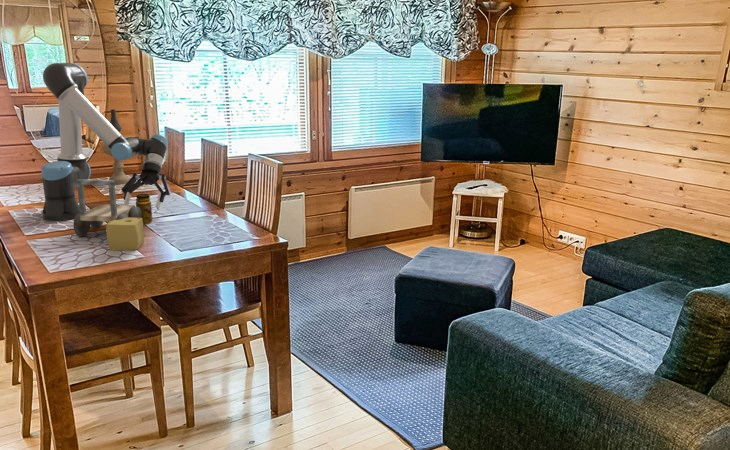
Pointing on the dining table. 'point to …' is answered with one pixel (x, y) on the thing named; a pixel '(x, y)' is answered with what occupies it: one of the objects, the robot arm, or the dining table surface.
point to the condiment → (145, 208)
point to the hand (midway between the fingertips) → (141, 207)
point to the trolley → (100, 209)
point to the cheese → (125, 234)
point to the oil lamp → (118, 166)
